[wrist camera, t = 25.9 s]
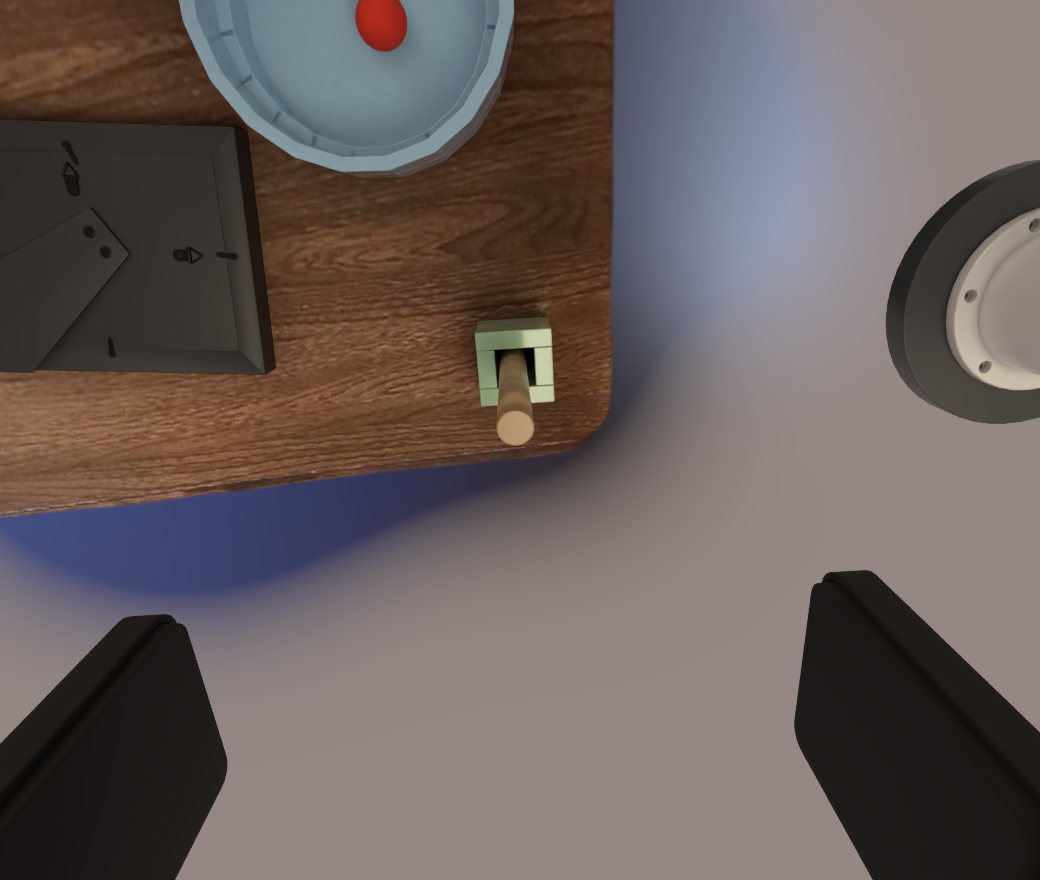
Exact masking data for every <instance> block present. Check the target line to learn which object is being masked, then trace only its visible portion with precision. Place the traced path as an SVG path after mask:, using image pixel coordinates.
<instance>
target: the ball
mask: <svg viewBox="0 0 1040 880" xmlns="http://www.w3.org/2000/svg"><path fill="white" fill-rule="evenodd" d="M355 21H356V26H357V30H358V32H359V34H360V36H361V38H362V39H363V40H364V42H365V43H366V44H367V45H369V46H370V47H371V48H373V49H375V50H378V51H383V52H387V51H392V50H394V49H396V48H397V47H398V46H399V45H400V44H401V43H402V42H403V40H404V38H405V36H406V33H407V16H406V13H405V10H404V8H403V6H402V4H401V2H400V1H399V0H359V2H358V4H357V7H356V11H355Z"/></svg>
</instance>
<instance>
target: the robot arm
mask: <svg viewBox="0 0 1040 880" xmlns="http://www.w3.org/2000/svg"><path fill="white" fill-rule="evenodd" d="M946 332H947V340H948V343H949V346H950V349H951V352H952V354H953V356H954V357H955V359H956V360H957V362H958V363H959V365H960V366H961V367H962V368H963V369H964V370H965V371H966V372H967V373H968V374H969V375H971V376H972V377H974V378H976V379H978V380H980V381H981V382H983V383H987V384H990V385H992V386H995V387H998V388H1004V389H1009V390H1031V389H1036V388H1040V208H1037V209H1035V210H1032V211H1030V212H1027V213H1025V214H1022V215H1020V216H1018V217H1016V218H1014V219H1013V220H1011V221H1009V222H1008V223H1006V224H1004V225H1003V226H1001V227H1000V228H999V229H997V230H996V231H995V232H994V233H993V234H991V235H990V236H989V237H988V238H987V239H985V240H984V241H983V243H982V244H981V245H980V246H979V247H978V248H977V249H976V250H975V251H974V253H973V254H972V255H971V256H970V258H969V259H968V261H967V262H966V264H965V265H964V267H963V268H962V270H961V271H960V273H959V275H958V277H957V279H956V282H955V284H954V286H953V288H952V291H951V295H950V298H949V302H948V305H947V313H946ZM794 726H795V734H796V738H797V741H798V744H799V747H800V749H801V751H802V753H803V755H804V756H805V758H806V760H807V762H808V763H809V765H810V767H811V769H812V771H813V772H814V774H815V776H816V778H817V780H818V782H819V783H820V785H821V787H822V789H823V791H824V792H825V794H826V796H827V798H828V800H829V802H830V803H831V805H832V807H833V809H834V810H835V812H836V814H837V816H838V818H839V820H840V821H841V823H842V825H843V827H844V828H845V830H846V832H847V834H848V836H849V838H850V839H851V841H852V843H853V845H854V847H855V849H856V850H857V852H858V854H859V856H860V858H861V859H862V861H863V863H864V865H865V867H866V868H867V870H868V872H869V874H870V876H871V878H872V879H873V880H1040V732H1039V731H1038V730H1037V729H1036V728H1035V727H1034V726H1033V725H1031V724H1030V722H1028V721H1027V720H1026V719H1025V718H1024V717H1023V716H1022V715H1021V714H1020V713H1019V712H1018V711H1017V710H1016V709H1015V708H1014V707H1013V706H1012V705H1011V704H1010V703H1009V702H1008V701H1007V700H1006V699H1005V698H1004V697H1003V696H1001V695H1000V694H999V693H998V692H997V691H996V690H995V689H994V688H993V687H992V686H991V685H990V684H989V683H988V682H987V681H986V680H985V679H984V678H983V677H982V676H981V675H980V674H978V673H977V671H976V670H974V669H973V668H972V667H971V666H970V665H969V664H968V663H967V662H966V661H965V660H964V659H963V658H962V657H961V656H960V655H959V654H958V653H957V652H956V651H955V650H954V649H953V648H951V646H949V645H948V644H947V643H946V642H945V641H944V640H943V639H942V638H941V637H940V636H939V635H938V634H937V633H936V632H935V631H934V630H933V629H932V628H931V627H930V626H929V625H928V624H927V623H926V622H925V621H924V620H923V619H921V618H920V617H919V616H918V615H917V614H916V613H915V612H914V611H913V610H912V609H911V608H910V607H909V606H908V605H907V604H906V603H905V602H904V601H903V600H902V599H901V598H900V597H899V596H898V595H897V594H895V593H894V592H893V591H892V590H891V589H890V588H889V587H888V586H887V585H886V584H885V583H884V582H883V581H882V580H881V579H880V578H879V577H878V576H877V575H875V574H874V573H873V572H871V571H868V570H861V571H844V572H830V573H827V574H826V575H825V576H824V578H823V580H822V583H817V584H815V585H814V586H813V588H812V592H811V598H810V605H809V613H808V621H807V628H806V636H805V644H804V652H803V659H802V667H801V674H800V682H799V690H798V698H797V706H796V713H795V720H794ZM226 773H227V757H226V753H225V750H224V747H223V743H222V740H221V737H220V734H219V731H218V727H217V724H216V721H215V718H214V715H213V711H212V708H211V705H210V702H209V699H208V695H207V692H206V689H205V686H204V682H203V680H202V677H201V673H200V670H199V667H198V663H197V660H196V657H195V654H194V651H193V647H192V644H191V641H190V638H189V634H188V632H187V630H186V627H185V626H184V625H183V624H179V623H176V621H175V619H174V618H173V617H172V616H171V615H166V614H162V615H145V616H131V617H126V618H123V619H122V620H121V621H119V622H118V623H117V624H116V625H115V626H114V627H113V628H112V630H110V631H109V632H108V633H107V634H106V636H105V637H104V638H103V639H102V640H101V641H100V642H99V643H98V644H97V645H96V646H95V647H94V648H93V649H92V650H91V651H90V652H89V653H88V654H87V655H86V656H85V657H84V658H83V659H82V660H81V661H80V662H79V663H78V664H77V666H75V667H74V669H73V670H72V671H71V672H70V673H69V674H68V675H67V676H66V677H65V678H64V679H63V680H62V681H61V682H60V683H59V684H58V685H57V686H56V687H55V688H54V689H53V690H52V691H51V692H50V693H49V694H48V695H47V696H46V697H45V698H44V699H43V700H42V701H41V702H40V703H39V704H38V706H37V707H36V708H35V709H34V710H33V711H32V712H31V713H30V714H29V715H28V716H27V717H26V718H25V719H24V720H23V721H22V722H21V723H20V724H19V725H18V726H17V727H16V728H15V729H14V730H13V731H12V732H11V733H10V734H9V735H8V736H7V737H6V739H5V740H4V741H3V742H2V743H1V744H0V880H175V879H176V877H177V875H178V873H179V871H180V869H181V867H182V865H183V863H184V861H185V859H186V857H187V855H188V853H189V851H190V849H191V847H192V845H193V843H194V841H195V839H196V837H197V835H198V833H199V831H200V829H201V827H202V825H203V823H204V821H205V819H206V818H207V815H208V813H209V811H210V809H211V808H212V806H213V804H214V802H215V800H216V798H217V796H218V794H219V792H220V790H221V788H222V786H223V783H224V781H225V777H226Z"/></svg>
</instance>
